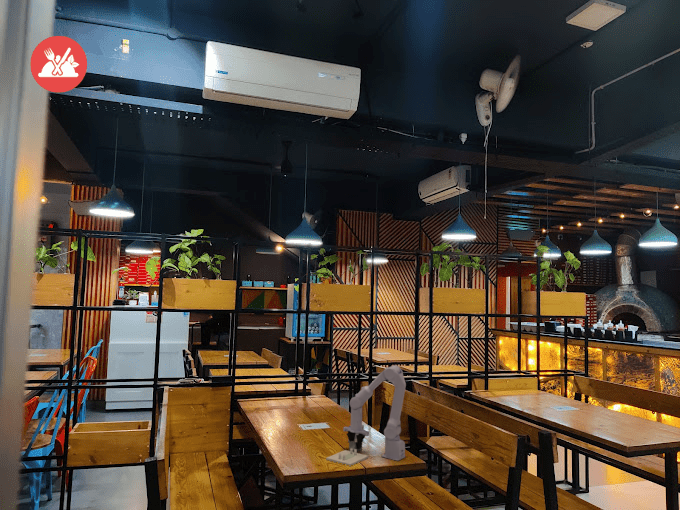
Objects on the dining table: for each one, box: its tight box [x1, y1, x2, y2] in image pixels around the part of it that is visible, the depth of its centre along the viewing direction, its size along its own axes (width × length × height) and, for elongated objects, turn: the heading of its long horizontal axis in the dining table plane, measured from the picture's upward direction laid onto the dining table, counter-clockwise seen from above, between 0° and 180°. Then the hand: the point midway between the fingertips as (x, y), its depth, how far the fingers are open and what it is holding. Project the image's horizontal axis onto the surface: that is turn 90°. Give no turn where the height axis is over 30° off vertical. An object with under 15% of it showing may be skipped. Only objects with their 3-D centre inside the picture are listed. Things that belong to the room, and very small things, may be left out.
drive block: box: [348, 439, 363, 453], centre depth 255 cm, size 4×7×5 cm, turn 145°
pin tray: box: [325, 448, 370, 467], centre depth 242 cm, size 14×16×4 cm
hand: (355, 447), depth 255 cm, fingers closed on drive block, 3 cm apart
